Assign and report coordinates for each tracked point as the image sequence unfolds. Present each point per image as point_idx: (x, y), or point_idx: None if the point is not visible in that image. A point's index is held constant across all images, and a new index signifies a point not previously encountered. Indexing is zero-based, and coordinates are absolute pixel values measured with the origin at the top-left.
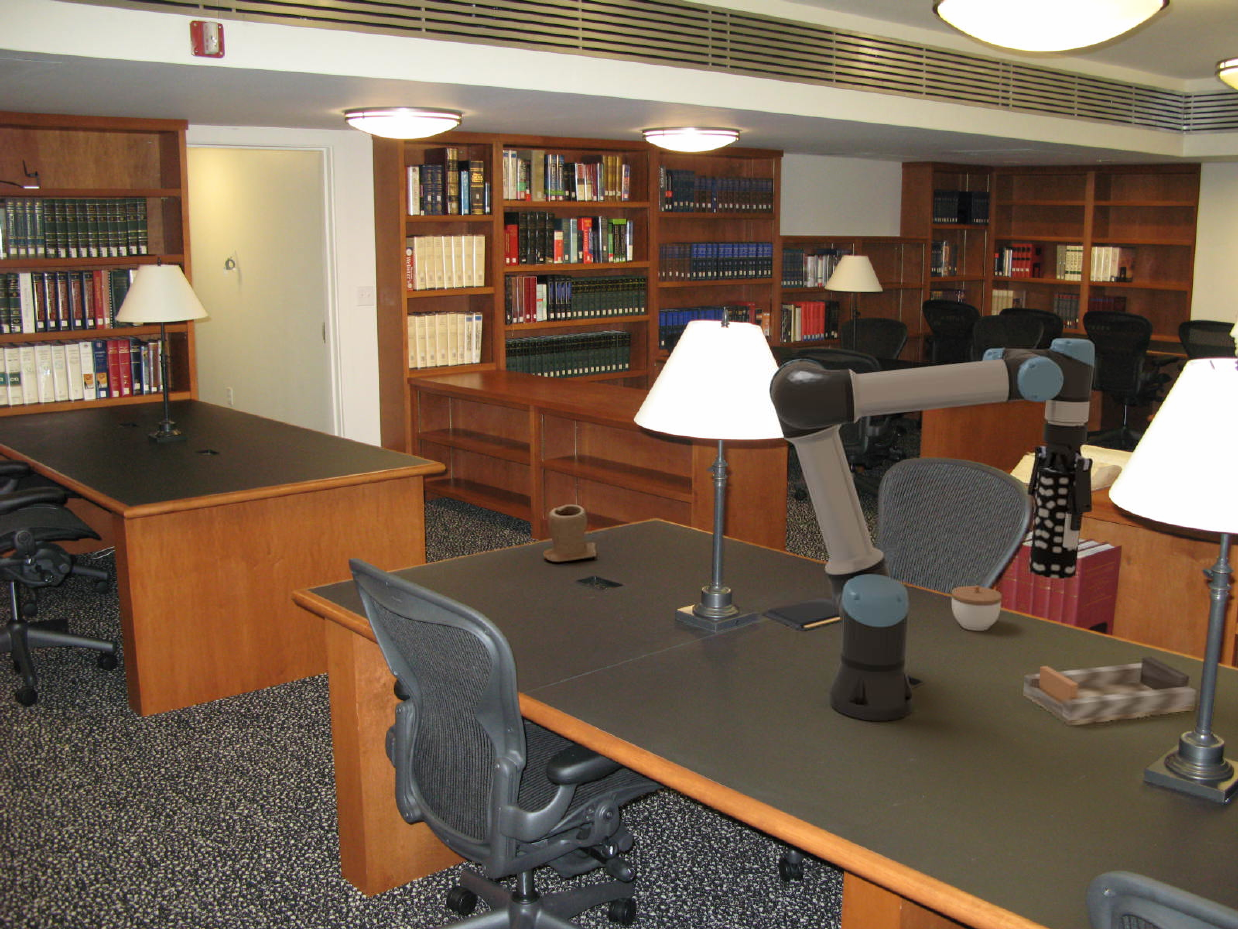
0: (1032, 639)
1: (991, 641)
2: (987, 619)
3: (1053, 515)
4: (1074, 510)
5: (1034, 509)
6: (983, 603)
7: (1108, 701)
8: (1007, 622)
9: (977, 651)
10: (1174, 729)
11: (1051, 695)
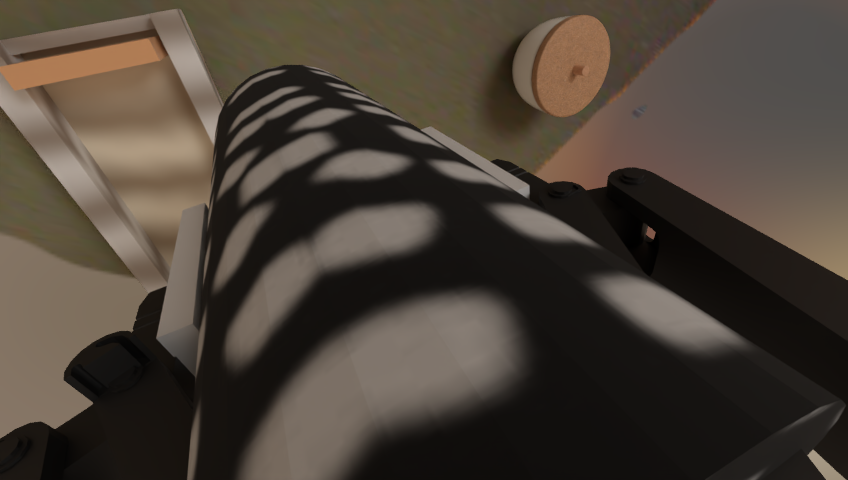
0: (466, 141)
1: (467, 65)
2: (515, 74)
3: (218, 225)
4: (101, 402)
5: (519, 170)
6: (535, 66)
7: (39, 153)
8: (533, 126)
9: (426, 14)
10: (57, 249)
11: (101, 46)
